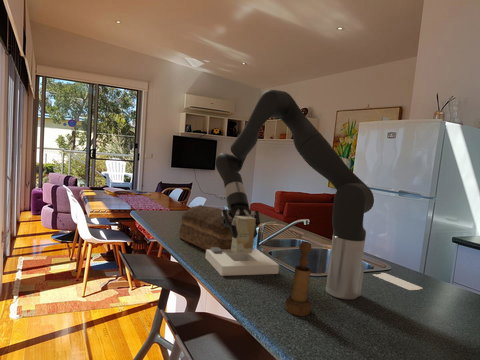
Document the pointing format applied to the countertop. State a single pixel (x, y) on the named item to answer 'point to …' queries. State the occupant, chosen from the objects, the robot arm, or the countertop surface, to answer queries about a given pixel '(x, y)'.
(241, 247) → the skincare box
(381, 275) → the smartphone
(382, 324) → the countertop surface
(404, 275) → the countertop surface
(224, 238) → the bread
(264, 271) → the socket plate
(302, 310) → the brown wooden tall piece
